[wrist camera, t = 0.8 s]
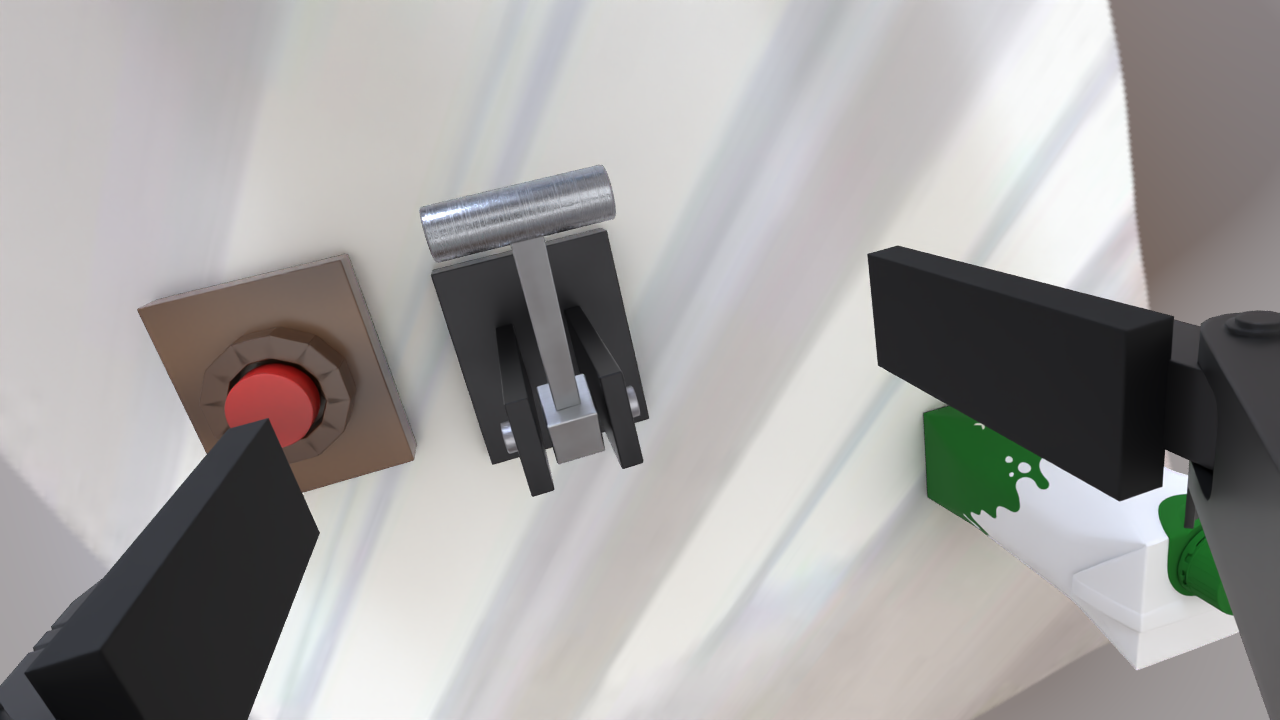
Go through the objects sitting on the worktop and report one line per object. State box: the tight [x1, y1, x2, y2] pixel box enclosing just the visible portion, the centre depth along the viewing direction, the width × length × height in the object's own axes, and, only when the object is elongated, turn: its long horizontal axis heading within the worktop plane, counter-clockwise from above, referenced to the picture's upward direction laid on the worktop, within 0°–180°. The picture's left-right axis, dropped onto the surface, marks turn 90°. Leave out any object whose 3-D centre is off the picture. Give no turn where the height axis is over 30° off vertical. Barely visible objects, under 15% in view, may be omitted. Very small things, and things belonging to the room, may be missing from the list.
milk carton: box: [923, 406, 1239, 670], centre depth 42 cm, size 9×9×20 cm
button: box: [225, 363, 320, 448], centre depth 35 cm, size 4×4×2 cm
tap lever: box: [419, 165, 616, 464], centre depth 27 cm, size 13×6×2 cm, turn 13°
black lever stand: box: [431, 228, 649, 497], centre depth 35 cm, size 12×10×14 cm
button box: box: [137, 254, 417, 493], centre depth 37 cm, size 12×10×4 cm
